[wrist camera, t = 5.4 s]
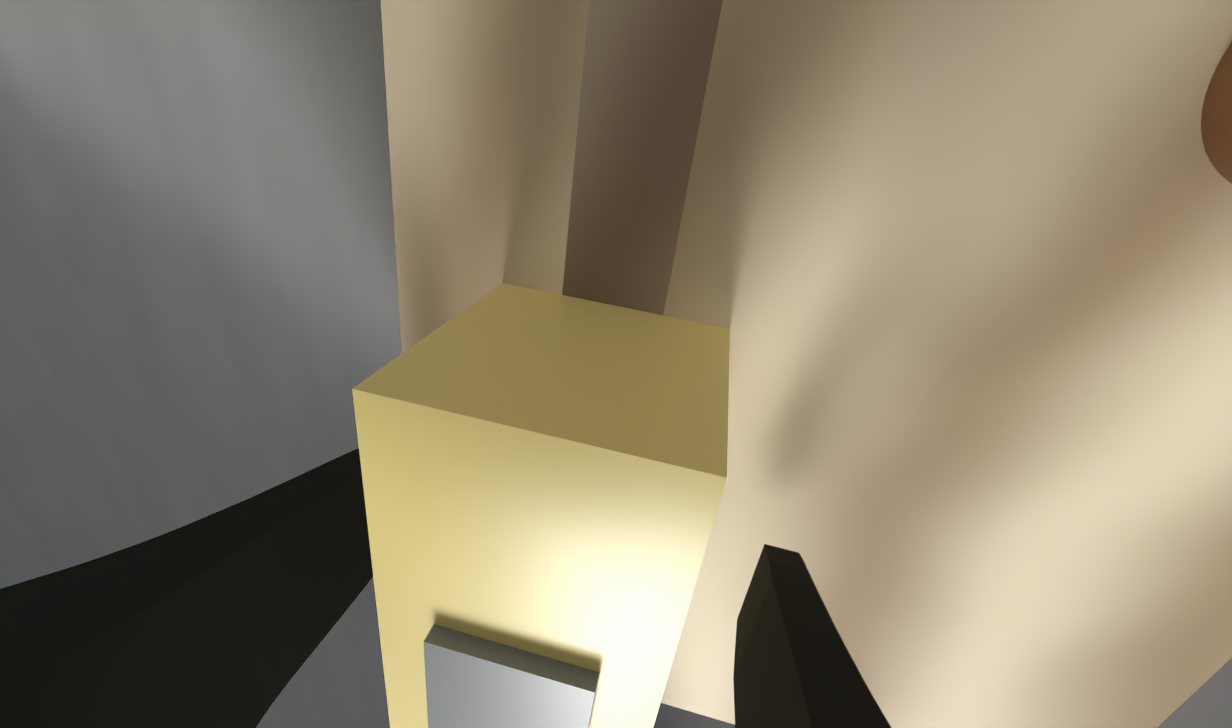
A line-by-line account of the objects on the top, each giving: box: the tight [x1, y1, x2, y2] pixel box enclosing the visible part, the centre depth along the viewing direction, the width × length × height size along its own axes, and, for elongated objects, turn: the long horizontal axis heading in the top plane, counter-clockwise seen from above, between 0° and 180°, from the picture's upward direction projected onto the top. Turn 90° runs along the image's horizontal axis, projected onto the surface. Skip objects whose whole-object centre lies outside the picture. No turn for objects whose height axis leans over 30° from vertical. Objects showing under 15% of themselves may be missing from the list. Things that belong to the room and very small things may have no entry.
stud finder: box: [352, 283, 730, 728], centre depth 10 cm, size 4×8×5 cm, turn 173°
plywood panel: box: [381, 0, 1232, 728], centre depth 10 cm, size 18×21×1 cm
